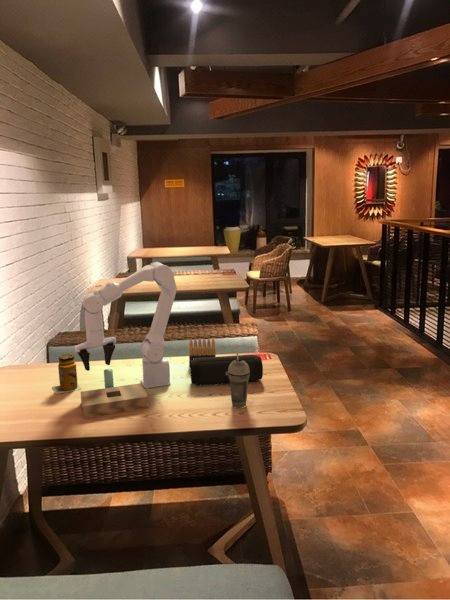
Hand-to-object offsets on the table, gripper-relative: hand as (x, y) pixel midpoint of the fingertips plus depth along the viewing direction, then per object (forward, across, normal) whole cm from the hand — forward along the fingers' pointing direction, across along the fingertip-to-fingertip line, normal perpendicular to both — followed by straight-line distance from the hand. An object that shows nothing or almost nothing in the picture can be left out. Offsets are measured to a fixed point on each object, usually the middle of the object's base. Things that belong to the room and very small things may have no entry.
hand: (97, 367), depth 171 cm
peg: (+10, -3, +2) cm, 10 cm away
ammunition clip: (+10, -43, +4) cm, 44 cm away
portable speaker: (+10, -39, +23) cm, 46 cm away
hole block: (+9, +1, +13) cm, 16 cm away
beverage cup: (+10, -29, +40) cm, 51 cm away
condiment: (+10, +7, -12) cm, 17 cm away
